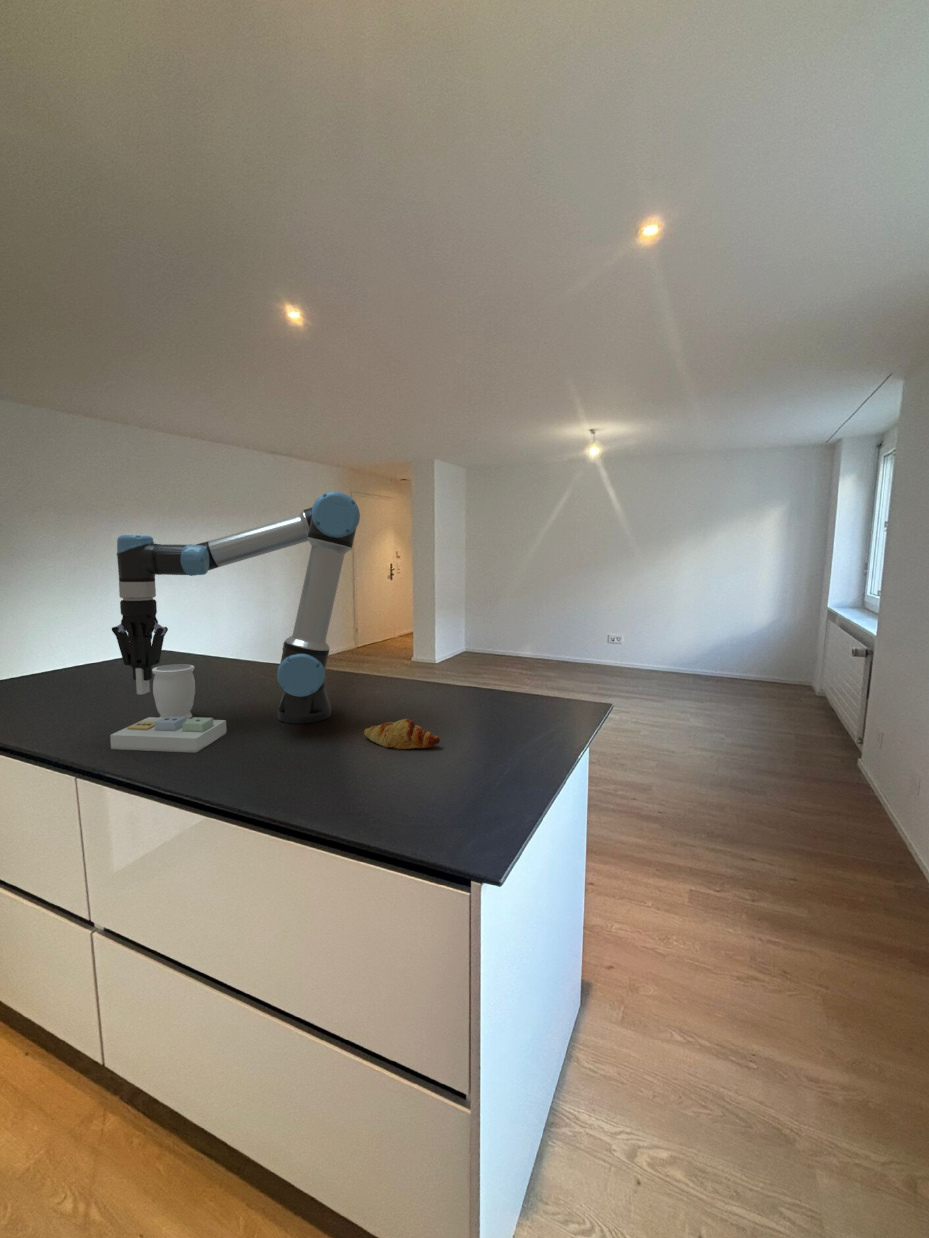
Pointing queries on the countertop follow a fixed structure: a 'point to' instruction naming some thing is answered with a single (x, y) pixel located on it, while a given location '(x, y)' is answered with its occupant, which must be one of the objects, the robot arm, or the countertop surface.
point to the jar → (174, 690)
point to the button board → (166, 738)
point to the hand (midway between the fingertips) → (143, 692)
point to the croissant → (401, 735)
